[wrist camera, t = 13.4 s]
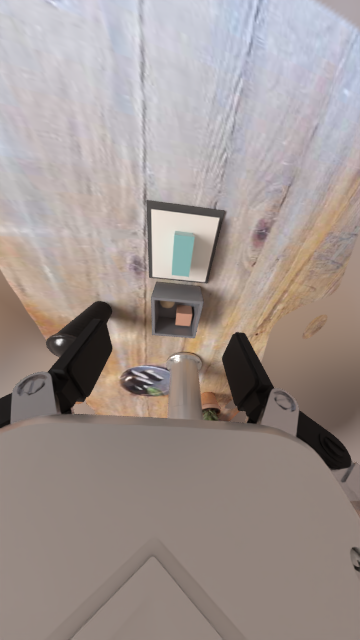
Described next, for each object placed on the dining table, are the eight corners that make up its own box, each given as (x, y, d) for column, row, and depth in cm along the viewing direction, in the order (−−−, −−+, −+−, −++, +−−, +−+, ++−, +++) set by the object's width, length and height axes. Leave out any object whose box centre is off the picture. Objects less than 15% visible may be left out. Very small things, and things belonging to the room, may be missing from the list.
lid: (203, 278, 31) (208, 292, 26) (153, 273, 30) (148, 286, 25) (217, 217, 24) (226, 219, 19) (153, 209, 24) (145, 209, 19)
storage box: (192, 319, 39) (194, 338, 33) (156, 316, 38) (152, 334, 33) (199, 286, 33) (203, 301, 27) (156, 281, 32) (151, 296, 26)
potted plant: (219, 390, 64) (236, 469, 44) (216, 399, 70) (230, 472, 50) (197, 390, 64) (204, 469, 44) (196, 399, 70) (201, 472, 50)
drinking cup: (109, 293, 34) (46, 367, 18) (122, 318, 39) (81, 394, 23) (80, 298, 35) (-4, 372, 19) (96, 322, 39) (40, 397, 24)
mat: (207, 282, 32) (207, 283, 32) (149, 276, 31) (149, 277, 31) (224, 210, 24) (224, 210, 24) (147, 200, 23) (146, 200, 23)
